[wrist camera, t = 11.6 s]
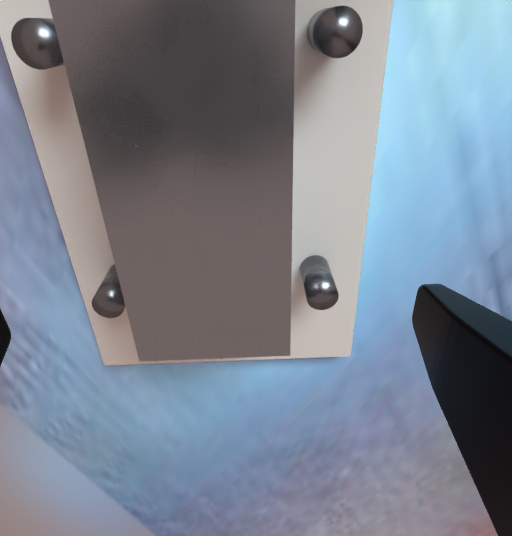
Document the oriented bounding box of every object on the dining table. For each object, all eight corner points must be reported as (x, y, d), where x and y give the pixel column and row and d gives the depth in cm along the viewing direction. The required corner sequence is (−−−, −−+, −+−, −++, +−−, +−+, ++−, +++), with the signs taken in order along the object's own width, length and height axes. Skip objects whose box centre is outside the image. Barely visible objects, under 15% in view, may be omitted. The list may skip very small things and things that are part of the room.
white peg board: (346, 344, 24) (361, 390, 21) (109, 353, 24) (89, 400, 21) (407, -201, 12) (459, -273, 9) (-52, -183, 12) (-148, -250, 9)
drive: (281, 285, 20) (290, 355, 16) (162, 290, 20) (139, 361, 16) (281, -2, 14) (295, -12, 10) (108, 5, 14) (47, -2, 10)
